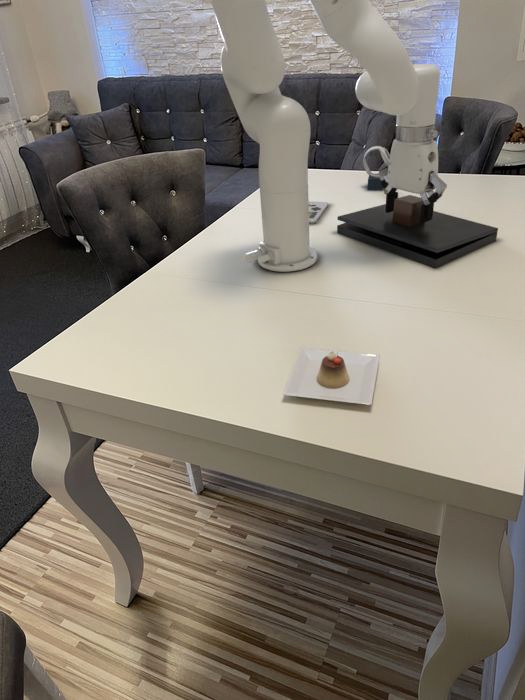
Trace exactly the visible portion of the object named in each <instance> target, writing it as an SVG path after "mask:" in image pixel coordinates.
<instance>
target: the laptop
mask: <svg viewBox="0 0 525 700" xmlns="http://www.w3.org/2000/svg"><path fill="white" fill-rule="evenodd" d="M336 234H339V235H342V236H345V237H348V238H351V239H354V240H356V241H359V242H362V243H365V244H367V245H370V246H373V247H375V248H378V249H381V250H384V251H386V252H389V253H392V254H395V255H398V256H400V257H403V258H406V259H408V260H411V261H415V262H418V263H419V264H423V265H425V266H428V267H431V268H434V269H437V268H438V267H441V266H443V265H445V264H447V263H450V262H451V261H454V260H456V259H459V258H460V257H462V256H465V255H467V254H469V253H471V252H473V251H476V250H479V249H481V248H483V247H485V246H487V245H489V244H491V243H493V242H496V241H497V238H498V232H495V233H493V234H490V235H487V236H484V237H481V238H478V239H475V240H473V241H470V242H467V243H464V244H461V245H458V246H456V247H453V248H450V249H447V250H444V251H441V252H439V253H436V252H433V251H430V250H427V249H424V248H421V247H418V246H415V245H412V244H409V243H406V242H403V241H400V240H397V239H394V238H391V237H388V236H385V235H382V234H379V233H376V232H373V231H370V230H367V229H364V228H361V227H358V226H355V225H352V224H349V223H346V222H342V223H340V224H337V226H336Z"/></svg>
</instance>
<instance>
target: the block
mask: <svg viewBox="0 0 525 700" xmlns="http://www.w3.org/2000/svg"><path fill="white" fill-rule="evenodd" d="M422 204H424V202H423V200H422V198H421V196H415V195H411V194H408V195H405V196H400V197H398V198H396V199H395V201H394V210H393V220H392V221H393V222H396V223H399V224H403V225H406V226H409V227H411V226H414V225H417V224H421V222H420V214H421V205H422Z"/></svg>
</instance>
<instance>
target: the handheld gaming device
mask: <svg viewBox="0 0 525 700" xmlns="http://www.w3.org/2000/svg"><path fill="white" fill-rule="evenodd" d="M308 202H309V225H310V224H311V225H312V224H313V225H314V224H316V223H317V222H318V221H319V219H320V218H321V217H322V215H323V214H324V212H325V211H326V209H327V208H328V207H329V202H328V201H309V200H308Z"/></svg>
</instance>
